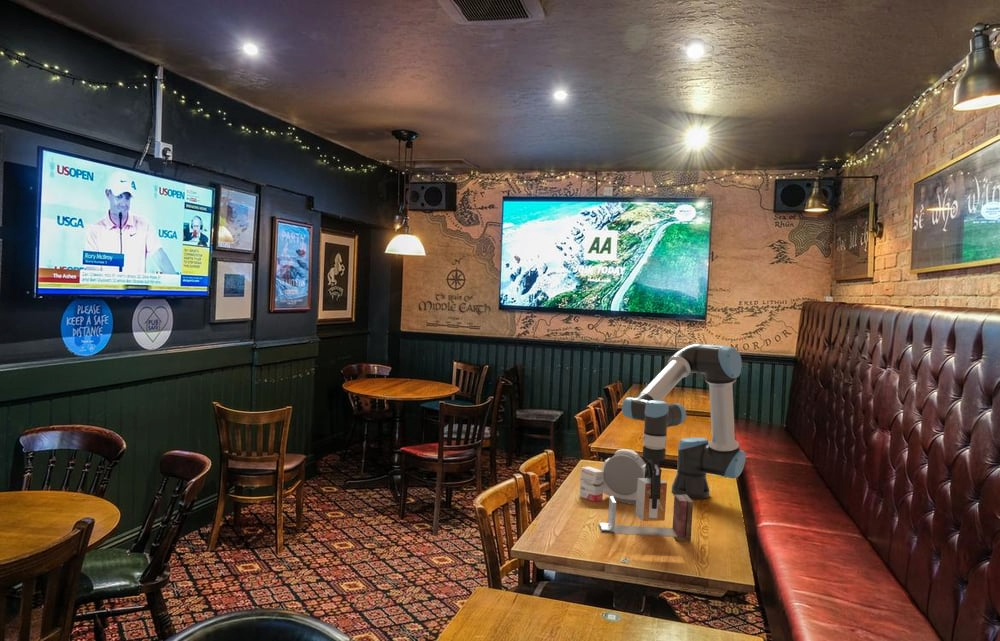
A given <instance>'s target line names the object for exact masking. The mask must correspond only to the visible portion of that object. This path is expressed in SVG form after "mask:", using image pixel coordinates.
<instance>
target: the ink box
mask: <svg viewBox="0 0 1000 641" xmlns="http://www.w3.org/2000/svg"><path fill="white" fill-rule="evenodd" d="M601 470H602V469H598V468H595V467H592V466H582V467H581V468H580V483H579V497H580V498H583V499H586V500H588V501H591V502H594V503H596V502H600V501H603V497H604V496H603V495H604V493H603V478H604V471H601Z"/></svg>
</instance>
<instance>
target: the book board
mask: <svg viewBox="0 0 1000 641" xmlns="http://www.w3.org/2000/svg"><path fill="white" fill-rule="evenodd" d="M673 497H674V498H673V514H672V527H661V526H660V527H659V526H643V525H642V526H639V525H624V524H622V525H620V524H615V532H611V531H602V530H601V527H600V523H597V526H598V528H599V531H600V534H616V535H632V536H633V535H634V536H635V535H636V536H651V537H652V536H653V537H656V536H657V537H668V538H669V537H672V538H674V540H675V542H683V541H684V542H685V543H688V542H689V543H691V542H692V528H693V526H692V525H693V510H694V509H693V508H694V501H693V500H692V499H691V498H689V497H688V495H685V494H682V495H676V494H674V496H673ZM684 542H683V543H684Z"/></svg>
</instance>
